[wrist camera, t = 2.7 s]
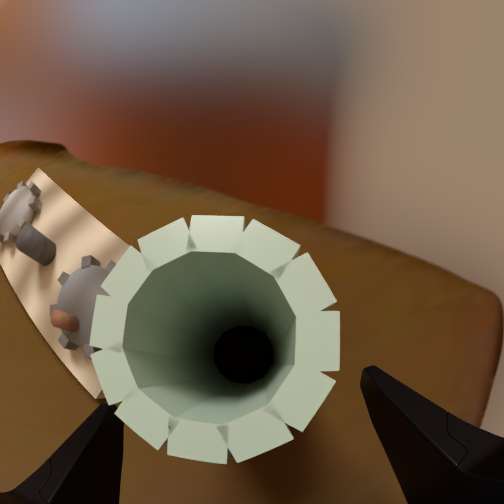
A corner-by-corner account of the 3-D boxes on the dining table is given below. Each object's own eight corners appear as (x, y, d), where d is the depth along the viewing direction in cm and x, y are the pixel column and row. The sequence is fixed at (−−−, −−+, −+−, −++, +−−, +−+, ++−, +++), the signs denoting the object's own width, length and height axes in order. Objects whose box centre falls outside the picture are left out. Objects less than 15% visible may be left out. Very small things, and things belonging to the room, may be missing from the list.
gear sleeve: (325, 335, 18) (428, 278, 6) (260, 433, 16) (256, 543, 4) (227, 275, 20) (181, 145, 8) (163, 366, 18) (25, 352, 6)
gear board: (181, 286, 20) (159, 263, 16) (103, 398, 16) (67, 401, 12) (43, 173, 26) (24, 150, 22) (-6, 241, 23) (-29, 224, 18)
